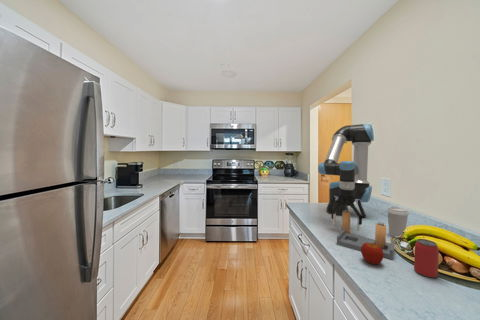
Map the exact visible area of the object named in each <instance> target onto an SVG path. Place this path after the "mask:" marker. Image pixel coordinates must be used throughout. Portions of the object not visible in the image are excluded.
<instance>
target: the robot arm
mask: <svg viewBox="0 0 480 320" xmlns="http://www.w3.org/2000/svg"><path fill="white" fill-rule="evenodd" d="M374 140H375V136H374V130H373V126H372V124H370V123H360V124H348V125H344V126H342V127H340V128H339V129H337V130H336V131H335V132H334V134H333V135H332V137H331V141H332V142H331V143H330V147H329V150H328V152H327V154H326V157H325V158H324V159H325V160H324V162H319V164H318V166H317V167H318V168H317V170H318V171H317V172H318V173H319V174H320V175H324V176H339V181H332V182H330V183H329V187H328V188H329V189H328V190H329V191H328V193H329V194H328V204H327V207H326V212H327V213H328V214H331V215H330V216H331V220H332V221H333V222H332V225H333V226H334V227H335V226H336V225H337V216H342V211H344V210H348V211H349V212H350V210H349V207H350V208H351V209H352V210H353V212H354V213H355V214H356V216H357V218H356V231H360V229H361V227H360V226H361V225H362V224H363V219H366V218H367V215H366V213H365V210H364V206H363V204H362V203H368V202H369V201H370V199H371V196H372V191H373V189H372V188H373V186H372V185H370V182H369V181H368V166H369V165H368V162H369V161H368V160H369V146H370V145H371V144H372V142H373V141H374ZM347 142H351V144H352V146H353V160H341V161H340V162H339V158H340V156H341V154H342V151H343V146H344V145H345V144H346V143H347ZM354 203H356V204H357V206H358V208H359V210H358V208H357V207H356V205H355V204H354Z"/></svg>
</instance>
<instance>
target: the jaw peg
mask: <svg viewBox="0 0 480 320" xmlns="http://www.w3.org/2000/svg"><path fill="white" fill-rule="evenodd" d="M343 229H346V233H349V234H351V211H350V210H349V211H348V210H344V211H342V217H341V231H342V230H343Z"/></svg>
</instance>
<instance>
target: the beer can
mask: <svg viewBox="0 0 480 320" xmlns="http://www.w3.org/2000/svg"><path fill="white" fill-rule="evenodd" d="M439 255H440V251H439V248H438V244H437V242H435V241H433V240H429V239H425V238H424V239H423V238H417V240H416V242H415V245H414V258H413V259H414V261H413V263H414V264H413V269H414V271H415V272H416V273H418V274H419V275H421V276H424V277H425V278H426V277H427V278H433V279H435V278H437V277H438V276H439Z"/></svg>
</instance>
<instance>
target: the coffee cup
mask: <svg viewBox="0 0 480 320" xmlns="http://www.w3.org/2000/svg"><path fill="white" fill-rule="evenodd" d="M386 213H387V222H388V223H387V224H388V235H389V236H390V237H391V238H394V237H395V236H400V235H402V234H403V231H404V230H405V229H407V222H408V218H409V215H410V213H409V211H408V209H407V208H404V207H399V206H389V207H388V208H387V209H386Z"/></svg>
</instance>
